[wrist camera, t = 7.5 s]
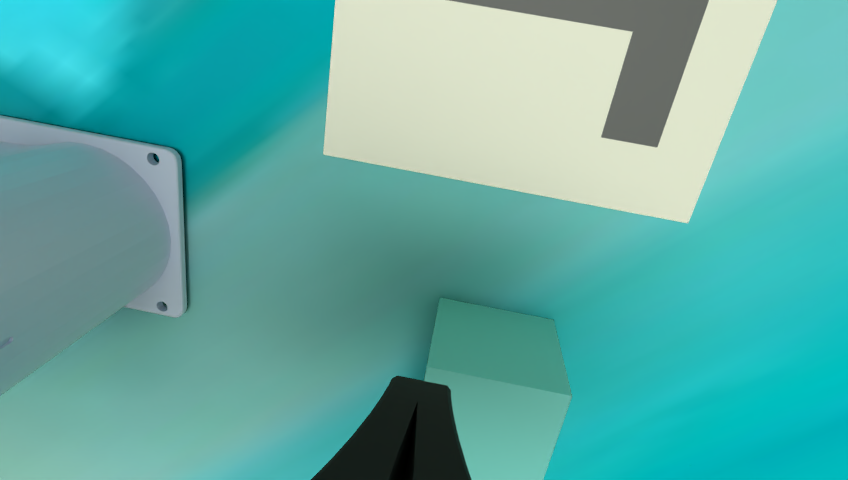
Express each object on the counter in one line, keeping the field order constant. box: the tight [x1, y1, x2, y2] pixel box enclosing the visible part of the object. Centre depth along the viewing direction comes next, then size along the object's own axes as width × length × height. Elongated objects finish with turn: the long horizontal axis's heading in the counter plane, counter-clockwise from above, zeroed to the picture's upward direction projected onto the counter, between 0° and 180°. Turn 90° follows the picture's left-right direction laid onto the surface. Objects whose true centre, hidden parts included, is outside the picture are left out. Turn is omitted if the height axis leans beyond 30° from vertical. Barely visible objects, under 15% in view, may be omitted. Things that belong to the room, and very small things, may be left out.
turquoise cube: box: [424, 298, 572, 480], centre depth 20 cm, size 5×5×5 cm
